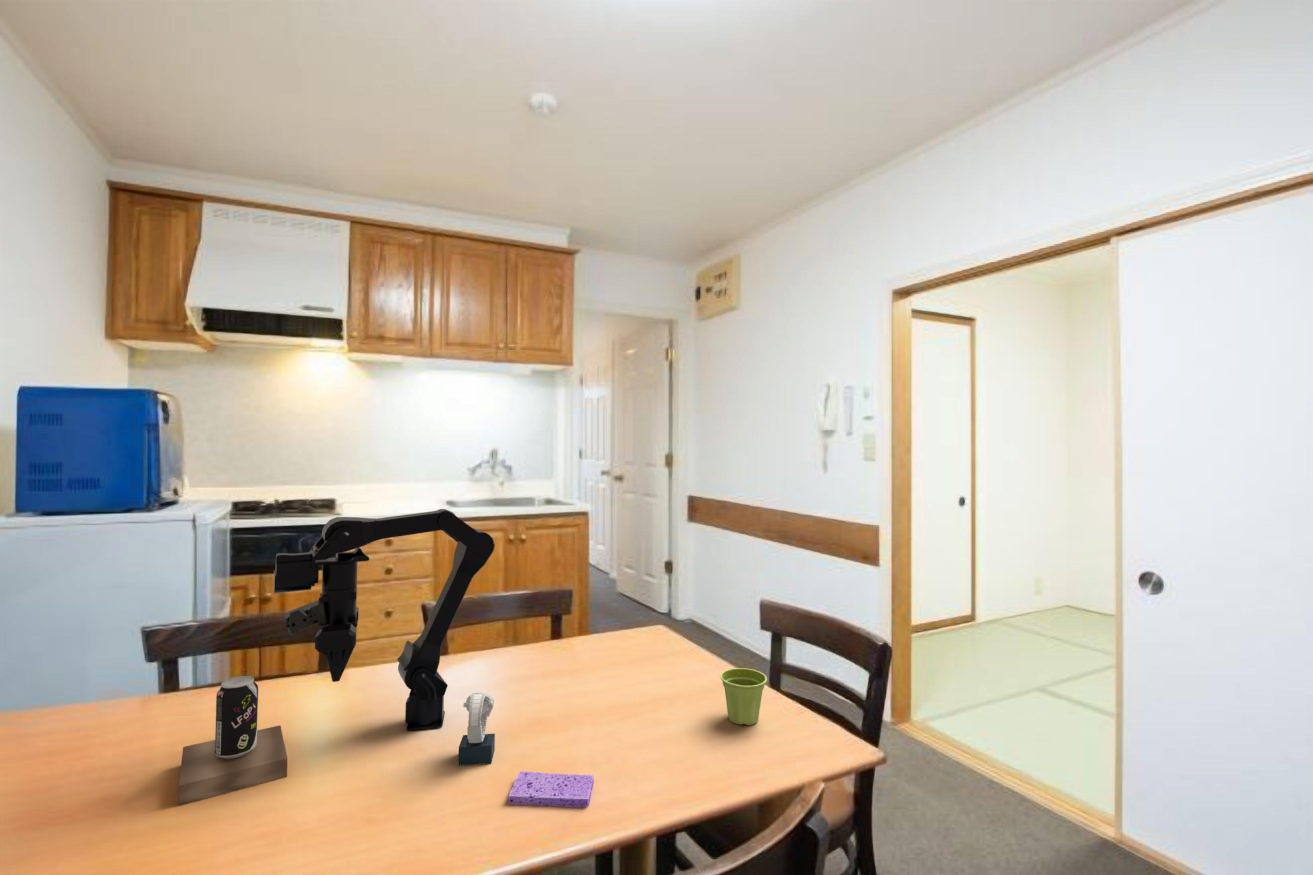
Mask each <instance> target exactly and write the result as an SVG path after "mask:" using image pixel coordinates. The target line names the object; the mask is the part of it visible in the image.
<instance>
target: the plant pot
mask: <svg viewBox="0 0 1313 875" xmlns="http://www.w3.org/2000/svg"><path fill="white" fill-rule="evenodd" d="M719 677H720V680H721V681H722V685H723V687H724V696H725V701H726V702H725V703H726V711H727V718H728V720H729V721H730V722H731V723H732V724H733V723H734V725H738V724H739V726H741V725H747V726H751V725H754V724H757V723H758V721H759V719H760V718H759V717H760V712H761V711H760V710H761V704H762V699H763V697H762V696H763V690H764V689H765V684H766V683H767V681H768V677H767V676H766V674H765V673H763V672H761V671H758V670H756V669H751V668H743V667H741V668H740V667H739V668H736V667H735V668H729V669H726V670H723V671H722V672H721V673H720V676H719Z"/></svg>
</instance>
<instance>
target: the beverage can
mask: <svg viewBox="0 0 1313 875" xmlns="http://www.w3.org/2000/svg"><path fill="white" fill-rule="evenodd" d="M258 686H259V685H258V684H257V683H256V682H255V677H254V676H251V675H242V676H241V675H240V676H236V677H235V676H233V677H231V678H228V679H226V680H224V681H222V682H221V685H220V689H218V691H217V692H216V697H215V698H216V701H215V705H216V706H215V733H214V735H215V739H214V740H215V754H216V756H218V757H221V758H224V759H233V758H238V757H241V756H243V755H245V754H247V753H249V752H250V751H251V750H252V749H254V748H255V746H256V745H257V730H258V718H259V717H258V716H259V712H258V711H259V710H258V709H259V705H258V704H259V687H258Z"/></svg>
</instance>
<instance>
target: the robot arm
mask: <svg viewBox="0 0 1313 875" xmlns="http://www.w3.org/2000/svg"><path fill="white" fill-rule="evenodd" d="M321 531H322V533H321V537H320V538H319V539H318V540H317V542H316V543H315V544H314V545H313V546H312V547H311V549H310V550H309V552H308V551H307V552H299V553H297V552H296V553H287V552H285V553H284V552H281V553H280V552H279V553H277V554H276V555H275V570H273V594H284V593H293V592H295V593H296V592H302V591H310V590H311V591H312V587H315V585H318V584H319V572H320V570H319V569H320V568H319V567H320V566H322V567H321V568H322V569H321V570H322V571H321V573H322V574H321V592H320V595H319V597H318V600H315V601H313V602H310V603H307V604H304V605H302V606H298V607H297V608H294V609H292V610H289V611H287V612H286V613H285V614H284V616H283V621H284V622H285V625H284V627H285V629H287V630H288V633H289V634H290V635H294V634H297V633H299V631H301V630H303V629H305V628H308V627H310V626H314V625H316V624H317V627H321V628H320V629H319V630H318V631H317V632H316V634H315V638H314V650H316V651H317V652H318V653H321V654H322V655H324V656H325V657H326V660H327V661H326V662H327V664H328V668H329V673H330V677H331V681H332V682H334V683H335V682H340V680H341V678H342V675H343V674H344V671H345V669H346V667H347V664H348V662H349V660H350V659H351V656H352V653H354V652H353V651H354V649H355V648H356V645H357V630H358V629H357V627H358V625H359V624H358V622H359V615H360V614H359V610H360V609H359V607H358V606H357V603H358V601H357V597H358V563H359V562H369V560H370V557H369V556H368V554H367V553H365V552H363V549H362V548H361V547H365V546H367V545H369V544H372V543H374V542H377V541H380V540H383V539H384V540H385V539H391V538H398V537H405V536H411V535H418V534H419V535H420V534H424V533H431V532H437V531H442V532H444V534H446V535H448V536H449V537H450V538H451V539H452V540H454V541H455V542H456V546H455V549H454V555H453V563H452V568H451V571H450V573H449V575H448V577H447V579H446V582H445V584H444V586H443V588H442V590H441V592H440V594H439V596H438V599H437V600H436V603H435V604H434V606H433V608H432V611H431V613H430V615H429V617H428V620H427V622H426V624H425V626H424V628H423V629H422V632H421V634H420V636H418V637H417V639H415V641H413V642H412V641H410V640H406V641H405V644H404V648H403V650H402V652H401V654H400V655H399V657H398V658H397V659H396V660H397V662H398V666H397V671H398V673H399V676H400V678H401V679H402V681H403V683H404V685H405V686H406V688H407V689H408V690H410V691H409V694H408V697H407V698H406V701H405V710H404V711H405V714H404V715H405V718H404V719H405V720H404V721H405V724H407V725H406V731H408V732H409V731H417V730H426V729H436V728H437V729H438V728H442V727H443V724H444V719H445V715H446V712H445V705H444V704H445V694H446V691H447V688H448V683H447V682H446V681H445V680H444V678H443V677H442V675H441V674H440V673H439V672H438V669H439V666H440V661H441V652H442V645H443V644H444V640H445V639H446V636H447V634H448V632H449V630H450V627H451V625H452V624H453V621H454V619H455V617H456V614H457V612H458V610H459V608H460V606H461V604H462V602H463V599H464V597H465V595H466V594H467V590H468V588H469V586H470V585H471V582H472V580H473V578H474V576H476V575H477V573H478V572H479V571H480V570H481V569H483V567H484V566H485V565H486V563H487V562H488V560H489V559H490V557H491V556H492V554H493V553H494V551H495V541H494V539H493V537H492V536H491V535H490V534H489V533H487V532H485V531H482V530H480V529H478V528H473V527H472V526H471V525H469V524H467V523H466V522H465V521H463V520H462V519H461V518H460V517H458V516H457V515H456V514H455V513H454V512H453V511H451V510H450V509H449V510H448V509H446V508H438V509H437V510H432V511H425V512H418V513H409V514H402V515H394V516H385V517H380V518H376V517H375V518H369V517H358V516H355V517H352V516H337V517H333V518H331V519H329V520H328V521H327V522H326V523H325V524H324V525H323V528H322V530H321ZM351 550H353V551H351ZM334 555H335V556H334ZM333 556H334V557H333Z"/></svg>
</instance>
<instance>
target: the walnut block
mask: <svg viewBox="0 0 1313 875" xmlns="http://www.w3.org/2000/svg"><path fill="white" fill-rule="evenodd" d="M283 736H284V735H283V732H282V726H281V724H280V725H274V726H271V727H266V728H262V729H257V745H256V746H255V748H254V749H252V750H251V751H250V752H249V753H247V754H245V755H243V756H241V757H238V758H233V759H224V758H221V757H218V756H216V754H215V739H212V740H208V741H204V742H200V743H195V744H191V745H187V746H186V745H185V746H182V753H181V762H180V763H181V764H180V769H179V770H180V772H179V779H178V780H179V781H178V786H177V787H178V788H177V789H178V791H177V793H178V795H177V796H178V797H177V805H178V806H177V807H180V806H183V805H187V804H190V803H194V802H198V801H202V800H204V799H205V800H206V799H209V798H212V797H216V796H220V795H223V794H228V793H232V792H235V791H239V790H243V789H247V788H249V787H254V786H258V785H261V784H265V783H268V782H274V781H276V780H279V779H284V778H287V777H288V754H287V751H286V750H287V749H286V745H285V740H284V737H283Z"/></svg>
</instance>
